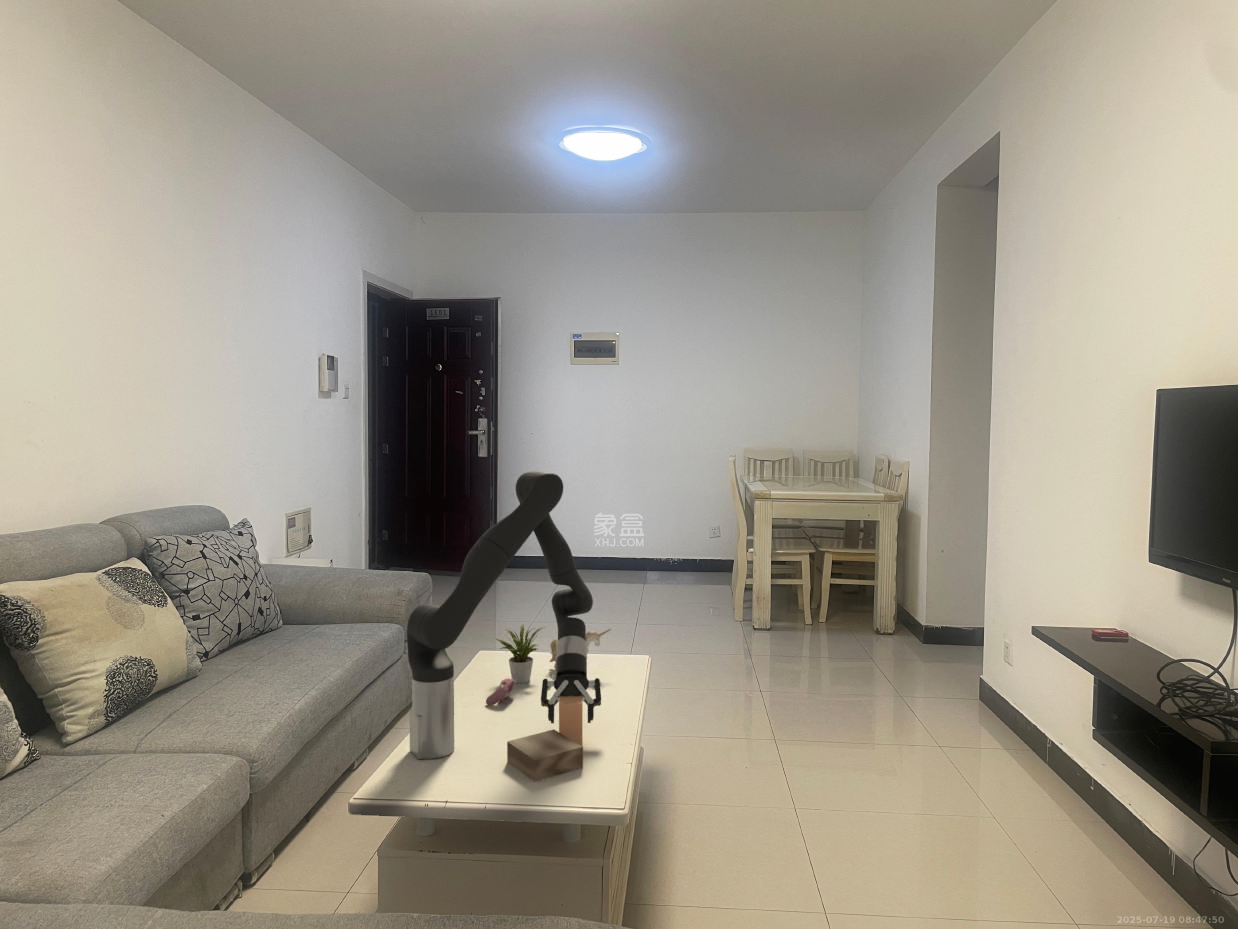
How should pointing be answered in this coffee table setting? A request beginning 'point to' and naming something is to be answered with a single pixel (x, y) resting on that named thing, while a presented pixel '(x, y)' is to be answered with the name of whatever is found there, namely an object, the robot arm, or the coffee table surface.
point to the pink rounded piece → (501, 692)
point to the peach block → (571, 717)
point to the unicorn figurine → (590, 637)
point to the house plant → (520, 655)
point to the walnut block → (544, 755)
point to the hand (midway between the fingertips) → (570, 722)
